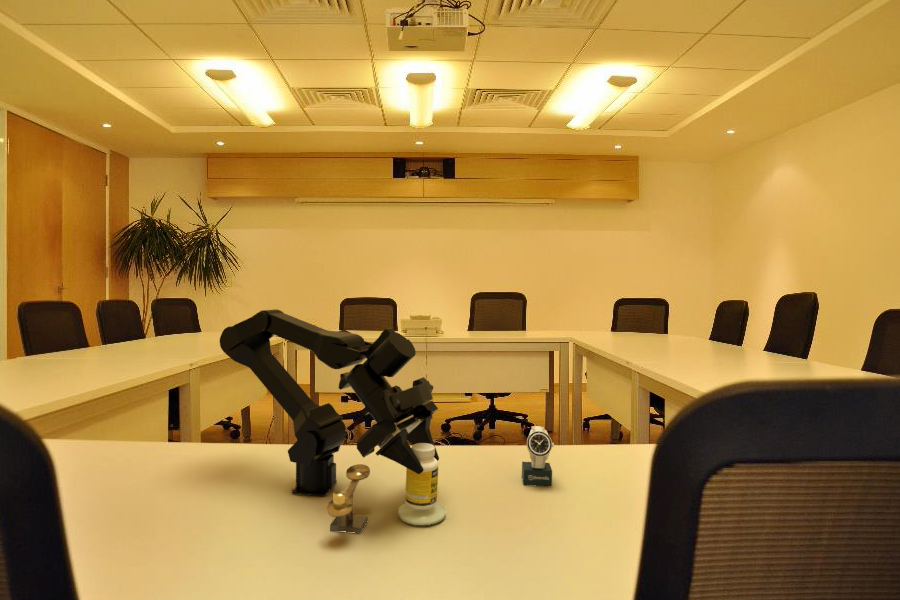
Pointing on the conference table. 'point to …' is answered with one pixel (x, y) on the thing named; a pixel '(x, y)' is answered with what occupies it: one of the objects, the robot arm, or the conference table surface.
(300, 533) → the conference table surface
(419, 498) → the supplement bottle
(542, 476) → the watch
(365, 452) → the robot arm
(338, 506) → the balance
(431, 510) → the dish
